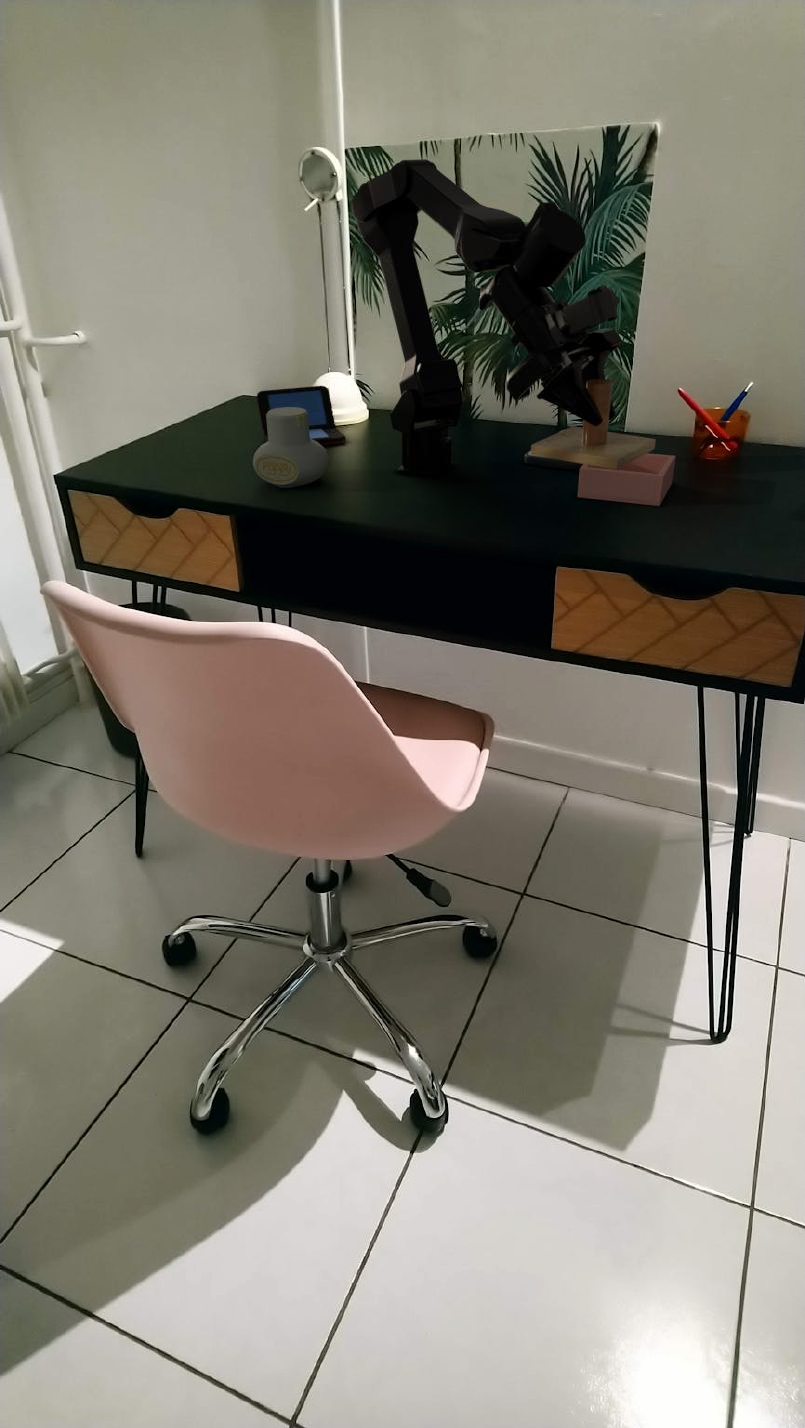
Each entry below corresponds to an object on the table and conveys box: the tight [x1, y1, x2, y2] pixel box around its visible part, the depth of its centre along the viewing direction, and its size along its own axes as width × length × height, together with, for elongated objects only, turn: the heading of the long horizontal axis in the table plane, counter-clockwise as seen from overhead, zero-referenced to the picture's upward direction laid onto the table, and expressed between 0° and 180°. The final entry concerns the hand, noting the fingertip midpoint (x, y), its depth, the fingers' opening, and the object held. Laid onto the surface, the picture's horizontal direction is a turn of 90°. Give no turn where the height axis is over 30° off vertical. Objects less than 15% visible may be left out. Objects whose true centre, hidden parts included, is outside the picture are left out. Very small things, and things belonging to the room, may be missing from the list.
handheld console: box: [256, 385, 346, 446], centre depth 148 cm, size 12×11×7 cm
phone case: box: [524, 429, 583, 471], centre depth 139 cm, size 9×2×16 cm
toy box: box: [577, 452, 677, 507], centre depth 122 cm, size 11×10×4 cm
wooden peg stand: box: [530, 379, 657, 470], centre depth 107 cm, size 11×10×8 cm
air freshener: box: [252, 407, 330, 489], centre depth 128 cm, size 11×8×10 cm
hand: (606, 420), depth 106 cm, fingers closed on wooden peg stand, 3 cm apart
